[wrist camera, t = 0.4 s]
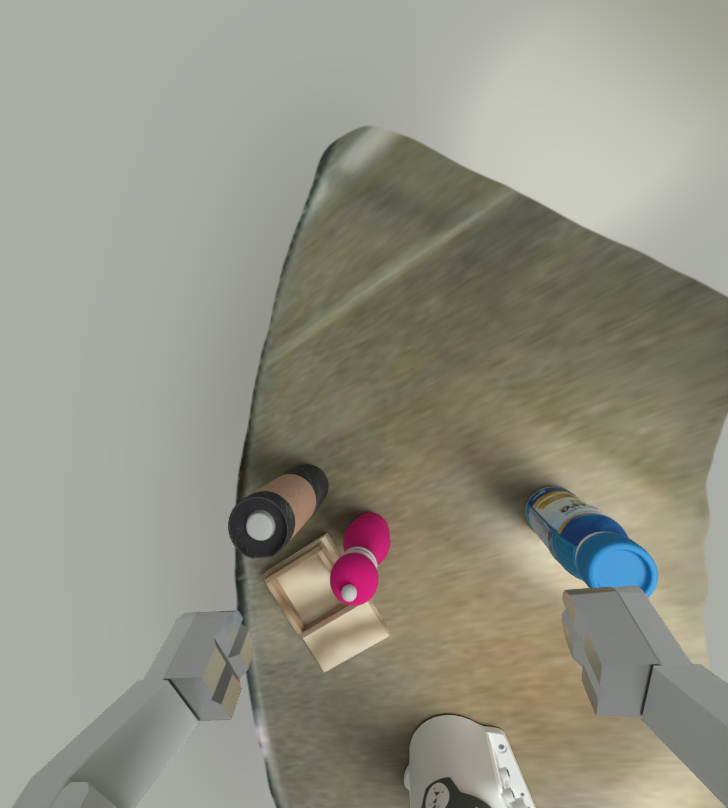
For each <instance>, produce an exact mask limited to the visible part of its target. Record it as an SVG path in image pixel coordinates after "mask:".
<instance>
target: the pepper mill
mask: <svg viewBox="0 0 728 808" xmlns="http://www.w3.org/2000/svg"><path fill="white" fill-rule="evenodd" d="M343 545H344V551H345V553H344V554H343V555H342V556H341V557H340V558H339V559H338V560H337V561H336V562H335V564H334V565H333V567H332V570H331V573H330V586H331V589H332V592H333V594H334V595H335V597H336V598H337V599H338V600H339V601H341V602H342V603H344V604H346V605H350V606H359V605H362V604H364V603H366V602H367V601H369V600H370V599H371V598H372V597H373V595H374V594H375V592H376V589H377V586H378V572H377V565H378V564H380V563H381V562H382V561H383V560H384V559H385V557H386V556H387V553H388V551H389V548H390V536H389V528H388V525H387V523H386V521H385V520H384V519H383V518H382V517H381V516H380V515H378V514H375V513H364V514H362V515H360V516H358V517H357V518H356V519H355V521H353V522H352V523H351V524H350V525H349V526H348V528H347V529H346V532H345V535H344V540H343Z"/></svg>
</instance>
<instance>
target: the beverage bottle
mask: <svg viewBox="0 0 728 808" xmlns="http://www.w3.org/2000/svg"><path fill="white" fill-rule="evenodd" d="M526 519H527V522H528V524H529V526H530V527H531V529H532V530H533V531H534V532H535V533H536V534H537V535H538V537H539V538H540V539H541V540H542V541H543V543H544V544H545V545H546V546H547V548H548V549H549V551H550V553H551V554H552V556H553V557H554V558H555V559H556V560H557V561H558V562H559V563H560V564H561V565H562V566H563V567H564V568H565V569H566V570H567V571H568V572H569V573H570V574H571V575H573V576H575V577H576V578H578V579H581V580H583V581H584V582H585V583H586V584H587V585H588V587H589V588H598V587H621V586H633V585H634V586H638V587H639V588H640V589H642V590H643V592H644V593H645V595H646V596H647V598H648V597H649V596H650V595H651V594H652V593H653V591H654V590H655V587H656V585H657V581H658V572H657V567H656V565H655V562H654V560H653V559H652V557H651V556H650V555H649V554H648V553H647V551H645V549H643V548H642V547H641V546H639V545H638V544H636V543H635V542H634V541H632V540H630V539H629V538H628V536H627V534H626V532H625V531H624V530H623V528H622V527H621V526H620V525H619V524H618V523H617V522H615V521H614V520H613V519H611V518H610V517H609V516H607V515H606V514H605V513H604V512H602V511H601V510H599V509H597V508H595V507H593V506H589V505H588V504H586V503H585V502H583V501H582V500H580V499H579V498H577V497H576V496H575V495H574V494H573V493H571V492H570V491H568V490H566V489H563V488H560V487H546V488H542V489H540V490H538V491H537V492H535V493H534V494H533V495H532V496H531V497H530V499H529V500H528V502H527V505H526Z"/></svg>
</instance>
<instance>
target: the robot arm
mask: <svg viewBox="0 0 728 808" xmlns="http://www.w3.org/2000/svg"><path fill="white" fill-rule="evenodd" d="M563 602H564V605H565V607H566V610H565V611H564V612H563V613H562V624H563V629H564V635H565V638H566V641H567V644H568V647H569V650H570V652H571V655H572V658H573V659H574V660H575V661H576V662H578V663H579V664H580V665H581V666H582V667H583V668H582V682H583V685H584V687H585V690H586V692H587V695H588V697H589V700H590V702H591V705H592V707H593V709H594V712H595V714H596V716H607V717H642V719H641V720H642V721H643V722H644V723H645V724H646V725H647V726H648V727H649V728H650V729H651V730H652V731H653V732H654V733H655V734H656V735H657V736H658V737H659V738H660V739H661V740H662V741H663V742H664V743H665V745H666V746H667V747H668V748H669V749H670V750H671V751H672V752H673V753H674V754H675V755H676V756H677V757H678V758H679V759H680V760H681V761H682V762H683V763H684V764H685V765H686V766H687V767H688V768H689V769H690V770H691V771H692V772H693V773H694V774H695V775H696V776H697V777H698V779H699V780H700V781H701V782H702V783H703V784H704V785H705V786H706V787H707V788H708V789H709V790H710V791H711V792H712V793H713V794H714V795H715V796H716V797H717V798H718V799H719V800H720V801H721V802H722V803H723V804H724V805H725V806H726V807H727V808H728V684H727V683H726V682H725V681H723V680H722V679H720V678H719V677H718V676H716V675H715V674H713V673H712V672H711V671H709V670H708V669H707V668H705V667H704V666H702V665H701V664H692V663H691V662H690V660H689V659H688V657H687V656H686V654H685V653H684V651H683V650H682V648H681V647H680V645H679V644H678V642H677V641H676V639H675V638H674V636H673V635H672V633H671V632H670V630H669V629H668V627H667V626H666V624H665V623H664V621H663V620H662V618H661V617H660V615H659V614H658V612H657V611H656V609H655V608H654V606H653V605H652V603H651V602H650V600H649V599H648V598H647V596H646V595H645V593H644V592H643V590H642V589H640V588H639V587H638V586H634V585H633V586H621V587H598V588H585V589H572V590H565V591H564V592H563ZM242 620H243V618H242V616H241V614H240V613H239V611H220V612H195V613H184V614H182V615H181V616H180V617H179V618H178V619H177V620H176V622H175V624H174V626H173V628H172V629H171V631H170V633H169V635H168V637H167V639H166V640H165V642H164V644H163V645H162V647H161V649H160V651H159V653H158V655H157V657H156V658H155V660H154V662H153V663H152V665H151V667H150V669H149V671H148V672H147V674H146V676H145V678H144V680H140V681H137V682H136V683H135V684H134V685H133V686H131V687H130V688H129V689H128V690H127V691H126V692H125V693H124V694H123V695H122V696H121V697H120V698H118V699H117V700H116V701H115V702H114V703H113V704H112V705H111V706H110V707H109V708H107V709H106V710H105V711H104V712H103V713H102V714H101V715H100V716H99V717H98V718H97V719H96V720H94V721H93V722H92V723H91V724H90V725H89V726H88V727H87V728H86V729H85V730H83V731H82V732H81V733H80V734H79V735H78V736H77V737H76V738H75V739H74V740H73V741H71V742H70V743H69V744H68V745H67V746H66V747H65V748H64V749H63V750H62V751H60V752H59V753H58V754H57V755H56V756H55V757H54V758H53V759H52V760H51V761H50V762H48V763H47V764H46V765H45V766H44V767H43V768H42V769H41V770H40V771H39V772H38V773H36V774H35V775H34V776H33V777H32V778H31V779H30V781H29V782H28V784H27V786H26V787H25V788H24V790H23V792H22V793H21V795H20V796H19V798H18V799H17V801H16V802H15V804H14V805H13V807H12V808H135V807H136V806H137V804H138V803H139V802H140V800H141V799H142V798H143V797H144V795H145V794H146V793H147V791H148V790H149V789H150V787H151V786H152V785H153V783H154V782H155V781H156V780H157V778H158V777H159V776H160V774H161V773H162V772H163V770H164V769H165V768H166V767H167V765H168V764H169V763H170V761H171V760H172V759H173V757H174V756H175V755H176V754H177V752H178V751H179V750H180V748H181V747H182V746H183V744H184V743H185V742H186V740H187V739H188V738H189V736H190V735H191V734H192V733H193V731H194V730H195V729H196V728H197V726H198V725H199V721H207V720H208V721H209V720H231V718H232V716H233V713H234V710H235V707H236V704H237V701H238V697H239V695H240V692H241V689H242V688H241V684H240V680H239V679H240V677H241V676H242V675H243V674H244V673H245V672H246V671H247V670H248V668H249V665H250V661H251V658H252V652H253V639H252V635H251V633H250V631H249V629H248V628H246V627H245V626H243V625H241V623H242ZM500 744H502V745H500ZM404 785H405V787H406V788H407V789H408V790H409V792H410V808H536V807H535V805H534V802H533V800H532V797H531V795H530V793H529V790H528V788H527V785H526V783H525V781H524V778H523V776H522V773H521V771H520V768H519V766H518V764H517V761H516V759H515V756H514V754H513V752H512V749H511V747H510V744H509V742H508V740H507V737H506V735H505V733H504V731H503V730H501V729H499V728H495V727H488V726H482V725H479V724H477V723H475V722H473V721H471V720H469V719H467V718H464V717H460V716H455V715H442V716H437V717H434V718H431V719H429V720H428V721H426V722H424V723H423V724H422V725H421V726H420V727H419V728H418V729H417V730H416V732H415V733H414V735H413V737H412V739H411V743H410V748H409V764H408V766H407V768H406V770H405V773H404Z"/></svg>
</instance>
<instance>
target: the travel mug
mask: <svg viewBox="0 0 728 808" xmlns="http://www.w3.org/2000/svg"><path fill="white" fill-rule="evenodd" d="M327 492H328V480H327V477H326V475H325V474H324V473H323V471H322V470H321V469H319V468H318V467H316V466H313V465H302V466H299V467H297V468H295V469H293V470H291V471H289V472H287V473H285V474H283V475H281V476H279V477H278V478H276V479H274V480H273V481H271V482H270V483H268V484H267V485H265V486H263V487H262V488H260V489H259V490H257V491H256V492H254V493H252V494H251V495H249V496H248V497H246V498H245V499H243V500H242V501H240V502H239V503H238V504H237V505H236V506H235V507H234V509H233V510H232V512H231V514H230V517H229V522H228V531H229V535H230V538H231V540H232V542H233V544H234V546H235V547H236V548H237V549H238V550H239V551H240V552H241V553H242V554H244V555H245V556H247V557H249V558H260V557H273V556H275V555H276V554H278V553H279V552H280V551H281V550H282V549H283V548H284V546H285V545H286V544H287V543H288V542H289V541H290V540H291V539H292V538H293V536H294V535H295V534H296V533H297V532H298V531H299V530H300V529H301V527H302V526H303V525H304V524H305V523H306V522H307V521H308V520H309V519H310V517H311V516H312V515H313V514H314V512H315V511H316V510H317V508H318V507H319V505H320V504H321V503H322V501H323V500H324V498H325V497H326V495H327Z"/></svg>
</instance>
